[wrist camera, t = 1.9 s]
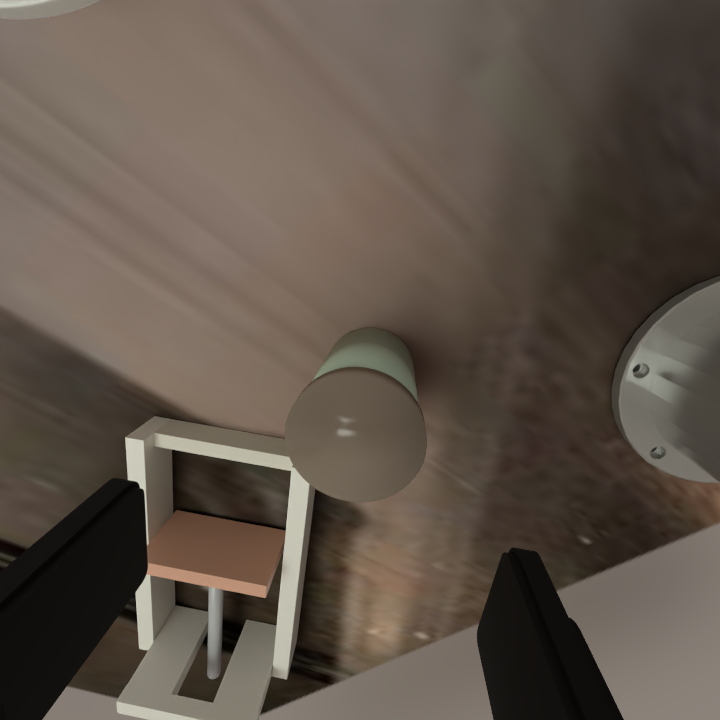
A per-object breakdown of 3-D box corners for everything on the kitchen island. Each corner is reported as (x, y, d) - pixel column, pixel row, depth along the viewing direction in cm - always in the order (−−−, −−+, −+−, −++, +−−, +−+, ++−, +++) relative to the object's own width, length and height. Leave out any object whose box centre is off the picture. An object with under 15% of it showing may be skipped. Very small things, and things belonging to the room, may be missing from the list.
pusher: (287, 530, 28) (266, 586, 23) (275, 652, 32) (255, 718, 27) (176, 509, 28) (134, 560, 24) (178, 632, 32) (143, 694, 28)
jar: (424, 333, 23) (440, 388, 14) (407, 418, 24) (412, 512, 16) (330, 318, 23) (290, 363, 14) (320, 403, 25) (279, 488, 16)
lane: (320, 445, 26) (293, 516, 19) (297, 640, 32) (270, 746, 25) (154, 416, 26) (72, 475, 20) (162, 612, 32) (100, 709, 26)
